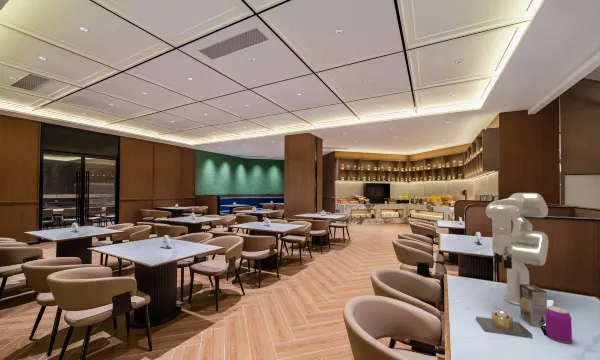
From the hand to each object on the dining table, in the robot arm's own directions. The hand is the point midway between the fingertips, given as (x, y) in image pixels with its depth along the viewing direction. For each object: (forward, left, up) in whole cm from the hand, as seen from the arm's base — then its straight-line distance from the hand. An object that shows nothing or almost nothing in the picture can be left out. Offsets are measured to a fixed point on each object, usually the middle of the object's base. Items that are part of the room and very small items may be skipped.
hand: (503, 265), depth 131 cm
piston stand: (+7, +16, -24) cm, 30 cm away
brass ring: (+7, +16, -23) cm, 29 cm away
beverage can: (-12, +18, -25) cm, 33 cm away
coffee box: (-10, +4, -25) cm, 27 cm away
